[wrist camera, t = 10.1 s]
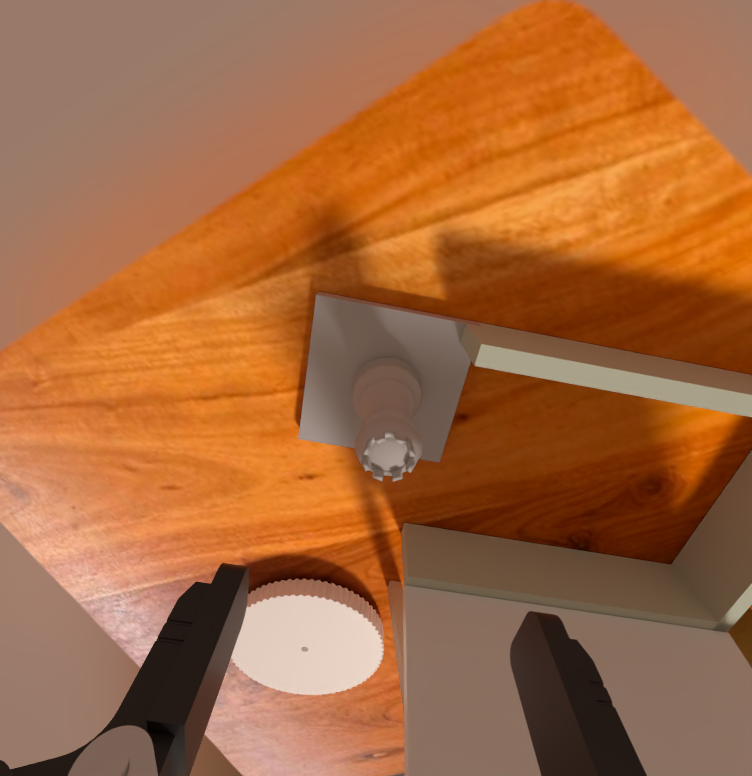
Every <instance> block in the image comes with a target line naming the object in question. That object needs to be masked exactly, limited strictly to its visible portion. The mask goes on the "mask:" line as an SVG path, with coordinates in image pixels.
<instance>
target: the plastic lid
mask: <svg viewBox="0 0 752 776" xmlns="http://www.w3.org/2000/svg"><path fill="white" fill-rule="evenodd" d="M383 654H384V632H383V624H382V623H381V619H380V618H379V615H378V614H376V610H375V609H374V610H373V606H372V605H369V602H368V601H364V598H363V597H362V598H360V597H359V595H358V594H354V592H353V591H348V589H347V588H342V587H341V586H340V585H338V586H336V585H335V584H334V583H331V584H329V583H328V582H327V581H324V582H321V580H317V581H314V580H313V579H310V580H306V579H302V580H299V579H295V580H292V579H288V581H285V580H281V582H278V581H275V582H274V583H273V584H272V583H268V585H266V586H265V585H263V586H262V587H261V588H259V587H258V588H256V591H254V590H253V591H251V593H250V594H248V600H247V608H246V613H245V617H244V621H243V624H242V627H241V630H240V633H239V636H238V639H237V641H236V644H235V647H234V650H233V653H232V656H231V659H233V660H232V661H233V663H236V664H235V665H236V666H237V667H239V670H242V671H243V673H244V674H247V675H248V677H251V678H252V679H253V680H254V681H255V680H256V681H258V683H262V684H263V685H264V686H269V688H275V690H281V691H282V692H284V691H286V692H287V693H294V694H297V693H298V694H300V695H303V694H306V695H310V694H313V695H316V694H319V695H323V694H329V693H332V694H333V693H335V692H341V691H342V690H344V691H345V690H347V689H348V688H349V689H351V688H352V687H353V686H355V687H356V686H357V684H361V683H362V681H366V678H370V675H373V674H374V671H376V670H377V668H378V667H379V664H381V659H383Z"/></svg>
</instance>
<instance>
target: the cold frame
mask: <svg viewBox="0 0 752 776" xmlns="http://www.w3.org/2000/svg"><path fill="white" fill-rule="evenodd" d="M478 323H479V324H480V325H481V326H477V325H472V324H465V327H464V331H463V334H462V338H461V341H460V343H461V345H462V346H463V348H464V350H465V351H466V353H467V354H468V356H469V358H470V359H471V361H472V363H473V364H474V366H478V367H483V368H488V369H494V370H499V371H505V372H510V373H515V374H521V375H526V376H532V377H537V378H542V379H548V380H553V381H559V382H564V383H569V384H575V385H580V386H586V387H591V388H596V389H602V390H607V391H613V392H618V393H623V394H629V395H634V396H640V397H645V398H650V399H656V400H661V401H667V402H672V403H677V404H683V405H688V406H694V407H699V408H704V409H710V410H715V411H721V412H726V413H731V414H737V415H742V416H748V417H752V375H750V374H744V373H739V372H734V371H729V370H724V369H719V368H713V367H708V366H703V365H698V364H693V363H687V362H682V361H677V360H672V359H667V358H661V357H656V356H651V355H646V354H641V353H635V352H630V351H625V350H620V349H615V348H610V347H604V346H599V345H594V344H589V343H584V342H578V341H573V340H568V339H563V338H558V337H552V336H547V335H542V334H537V333H532V332H526V331H521V330H516V329H511V328H506V327H501V326H495V325H490V324H485V323H480V322H478ZM401 542H402V560H403V577H404V587H405V585H407V586H414V587H421V588H427V589H434V590H441V591H448V592H455V593H461V594H468V595H475V596H482V597H489V598H496V599H502V600H509V601H516V602H523V603H530V604H536V605H543V606H550V607H557V608H564V609H571V610H577V611H584V612H591V613H598V614H605V615H611V616H618V617H625V618H632V619H639V620H646V621H652V622H659V623H666V624H673V625H680V626H686V627H693V628H700V629H707V630H714V631H721V632H728V631H729V630H730V629H731V628H732V627H733V625H734V624H735V623H736V622H737V621H738V620H739V619H740V617H741V616H742V615H743V614H744V613H745V612H746V611H747V609H748V608H749V607H750V606H751V605H752V450H751V452H750V453H749V455H748V456H747V457H746V459H745V460H744V462H743V463H742V464H741V466H740V467H739V469H738V470H737V472H736V473H735V474H734V476H733V477H732V479H731V480H730V482H729V483H728V484H727V486H726V487H725V489H724V490H723V491H722V493H721V494H720V496H719V497H718V499H717V500H716V501H715V503H714V504H713V506H712V507H711V508H710V510H709V511H708V513H707V514H706V516H705V517H704V518H703V520H702V521H701V523H700V524H699V526H698V527H697V528H696V530H695V531H694V533H693V534H692V535H691V537H690V538H689V540H688V541H687V543H686V544H685V545H684V547H683V548H682V550H681V551H680V553H679V554H678V555H677V557H676V558H675V560H674V561H673V562H672V564H665V563H658V562H652V561H645V560H639V559H633V558H626V557H620V556H614V555H607V554H601V553H594V552H588V551H582V550H575V549H569V548H563V547H556V546H550V545H544V544H537V543H531V542H524V541H518V540H512V539H505V538H499V537H493V536H486V535H480V534H473V533H467V532H461V531H454V530H448V529H442V528H435V527H429V526H423V525H416V524H410V523H404V525H403V529H402V532H401ZM388 596H389V604H390V612H391V619H392V627H393V634H394V642H395V650H396V657H397V665H398V672H399V680H400V688H401V695H402V703H403V710H404V651H403V589H402V584H401V582H399V581H392V580H390V582H389V586H388Z"/></svg>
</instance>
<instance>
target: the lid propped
mask: <svg viewBox="0 0 752 776" xmlns="http://www.w3.org/2000/svg"><path fill="white" fill-rule="evenodd" d="M529 611H534V612H541V613H547V614H554V615H557V616H558V617H559V618H560V619H561V620H562V622H563V624H564V627H565V629H566V631H567V633H568V636H569V638H570V639H576V640H578V642H579V643H580V644H581V646H582V647H583V648H584V649H585V651H586V652H587V653H588V654H589V656H590V657H591V658H592V660H593V661H594V663H595V665H596V668H597V670H598V672H599V674H600V676H601V678H602V680H603V683H604V684H603V685H604V687H605V688H606V689H607V691H608V693H609V695H610V698H611V700H612V705H613V707H615V708H616V710H617V713H618V715H619V717H620V719H621V721H622V723H623V725H624V728H625V730H626V732H627V734H628V736H629V738H630V740H631V743H632V745H633V747H634V749H635V751H636V753H637V755H638V758H639V760H640V762H641V764H642V766H643V768H644V770H645V773H646V775H647V776H752V668H751V666H750V665H749V663H748V662H747V660H746V659H745V657H744V655H743V654H742V652H741V651H740V649H739V648H738V646H737V645H736V643H735V642H734V640H733V639H732V637H731V636H730V634H729V633H727V632H721V631H714V630H707V629H700V628H693V627H686V626H680V625H673V624H666V623H659V622H652V621H646V620H639V619H632V618H625V617H618V616H611V615H605V614H598V613H591V612H584V611H577V610H571V609H564V608H557V607H550V606H543V605H536V604H530V603H523V602H516V601H509V600H502V599H496V598H489V597H482V596H475V595H468V594H461V593H455V592H448V591H441V590H434V589H427V588H421V587H414V586H407V585H405V587H404V590H403V651H404V750H405V776H541V773H540V769H539V766H538V762H537V758H536V755H535V751H534V748H533V744H532V740H531V737H530V733H529V730H528V726H527V722H526V719H525V715H524V712H523V708H522V704H521V701H520V697H519V694H518V690H517V686H516V683H515V679H514V676H513V672H512V668H511V663H510V648H511V643H512V641H513V639H514V637H515V635H516V633H517V631H518V630H519V628H520V626H521V624H522V622H523V620H524V618H525V616H526V614H527V613H528V612H529Z"/></svg>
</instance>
